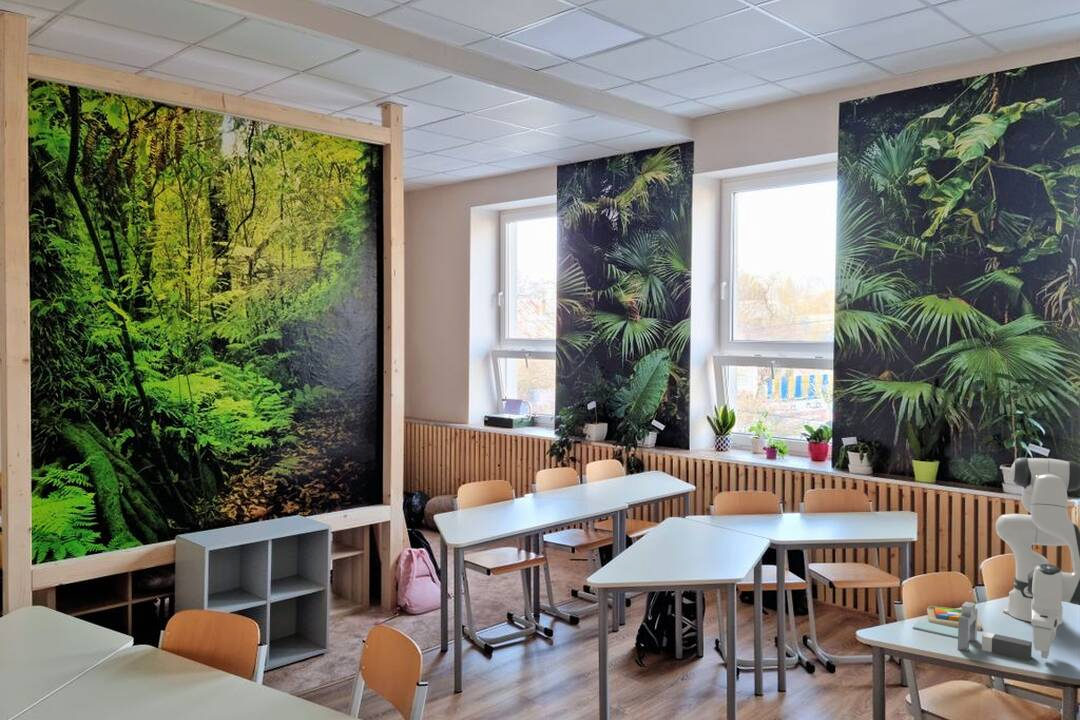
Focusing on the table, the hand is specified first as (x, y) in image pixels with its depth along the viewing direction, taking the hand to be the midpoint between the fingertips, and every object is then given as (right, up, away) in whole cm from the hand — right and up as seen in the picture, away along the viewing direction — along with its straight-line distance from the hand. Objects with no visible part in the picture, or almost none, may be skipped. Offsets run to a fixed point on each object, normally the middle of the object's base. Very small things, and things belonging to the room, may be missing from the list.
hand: (1044, 657), depth 278 cm
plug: (-9, -1, +7) cm, 11 cm away
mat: (-20, 0, +28) cm, 34 cm away
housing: (-18, -1, +14) cm, 23 cm away
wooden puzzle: (-10, -1, +40) cm, 42 cm away
